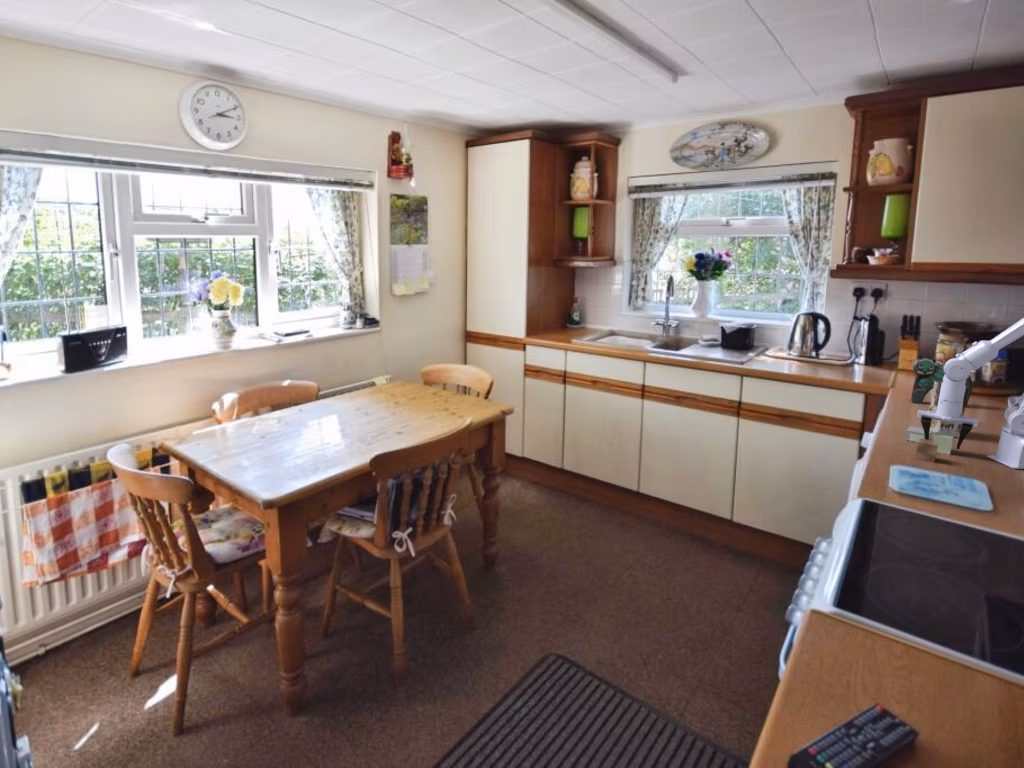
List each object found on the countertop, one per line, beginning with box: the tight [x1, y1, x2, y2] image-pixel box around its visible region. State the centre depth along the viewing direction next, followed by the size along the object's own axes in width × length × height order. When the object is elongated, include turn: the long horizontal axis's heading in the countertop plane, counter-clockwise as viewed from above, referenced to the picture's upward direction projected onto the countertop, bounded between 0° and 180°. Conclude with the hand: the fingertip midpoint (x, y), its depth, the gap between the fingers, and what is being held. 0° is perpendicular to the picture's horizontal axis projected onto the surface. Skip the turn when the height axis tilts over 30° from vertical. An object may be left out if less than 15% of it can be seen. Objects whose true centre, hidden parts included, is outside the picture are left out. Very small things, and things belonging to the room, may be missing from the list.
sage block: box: [932, 432, 955, 455], centre depth 185 cm, size 4×4×5 cm
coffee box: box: [929, 381, 969, 438], centre depth 202 cm, size 9×6×16 cm
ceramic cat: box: [910, 351, 974, 408], centre depth 237 cm, size 20×6×20 cm, turn 73°
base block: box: [904, 425, 933, 443], centre depth 194 cm, size 6×6×4 cm
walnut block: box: [915, 438, 938, 463], centre depth 178 cm, size 4×4×5 cm
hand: (942, 445), depth 185 cm, fingers open, 7 cm apart
